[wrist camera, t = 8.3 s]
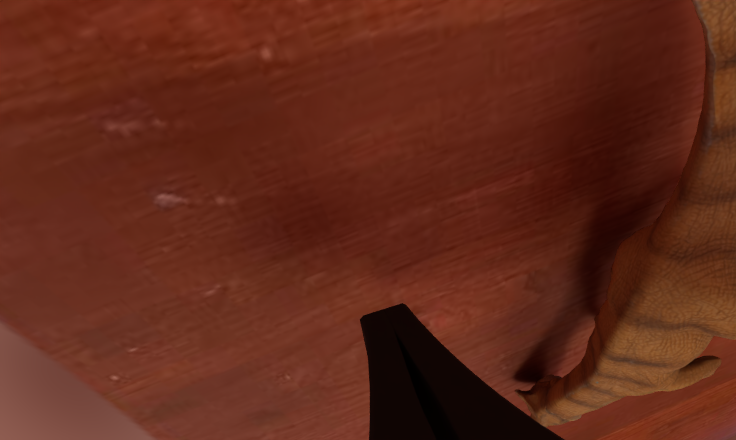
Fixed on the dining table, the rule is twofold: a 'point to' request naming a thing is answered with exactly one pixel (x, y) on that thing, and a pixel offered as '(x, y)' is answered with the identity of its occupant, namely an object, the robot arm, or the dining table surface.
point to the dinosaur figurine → (668, 266)
